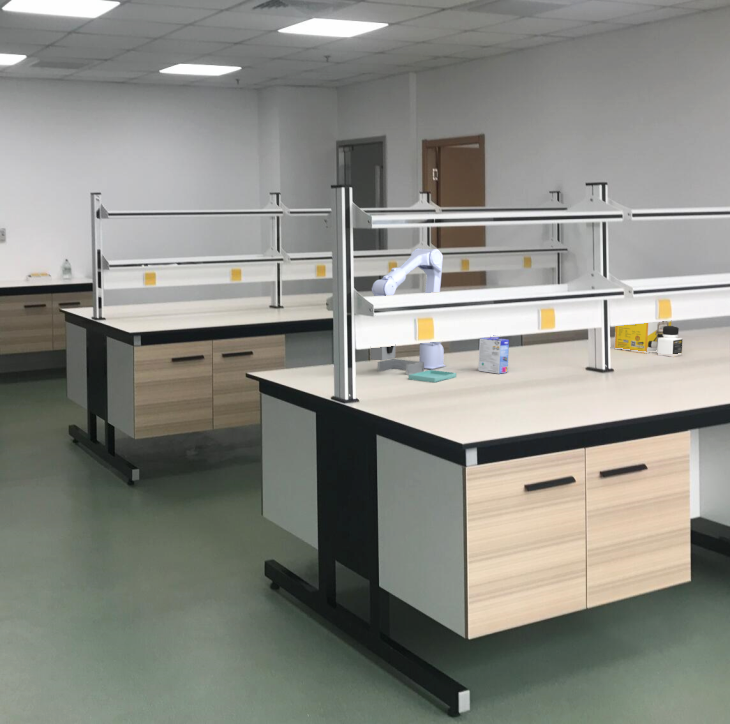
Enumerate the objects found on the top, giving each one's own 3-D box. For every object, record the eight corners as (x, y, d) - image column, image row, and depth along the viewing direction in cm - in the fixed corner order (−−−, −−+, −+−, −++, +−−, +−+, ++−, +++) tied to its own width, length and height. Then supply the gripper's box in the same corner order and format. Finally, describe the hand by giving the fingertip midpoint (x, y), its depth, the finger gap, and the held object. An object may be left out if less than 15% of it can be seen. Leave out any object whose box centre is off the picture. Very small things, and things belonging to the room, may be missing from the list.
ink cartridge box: (509, 372, 351) (510, 332, 348) (499, 374, 347) (500, 334, 344) (487, 369, 357) (488, 330, 355) (477, 371, 354) (478, 331, 351)
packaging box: (637, 346, 421) (640, 288, 417) (669, 350, 408) (673, 291, 405) (614, 349, 411) (616, 290, 407) (646, 353, 398) (649, 293, 395)
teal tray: (430, 374, 347) (430, 369, 347) (456, 377, 341) (456, 372, 340) (408, 379, 336) (408, 374, 336) (434, 382, 330) (434, 378, 329)
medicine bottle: (672, 357, 389) (674, 327, 387) (656, 355, 394) (658, 326, 392) (681, 355, 393) (683, 326, 392) (666, 353, 399) (667, 324, 397)
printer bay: (393, 367, 360) (393, 358, 360) (423, 371, 352) (423, 362, 352) (377, 371, 353) (377, 361, 352) (408, 375, 344) (408, 365, 344)
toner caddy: (384, 356, 347) (384, 338, 346) (395, 357, 344) (395, 339, 343) (370, 359, 341) (370, 340, 340) (382, 360, 338) (382, 341, 337)
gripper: (360, 313, 342) (360, 351, 344) (393, 316, 333) (393, 355, 335) (372, 311, 347) (371, 349, 349) (405, 314, 338) (405, 353, 341)
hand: (383, 352), depth 342 cm, fingers closed on toner caddy, 5 cm apart
